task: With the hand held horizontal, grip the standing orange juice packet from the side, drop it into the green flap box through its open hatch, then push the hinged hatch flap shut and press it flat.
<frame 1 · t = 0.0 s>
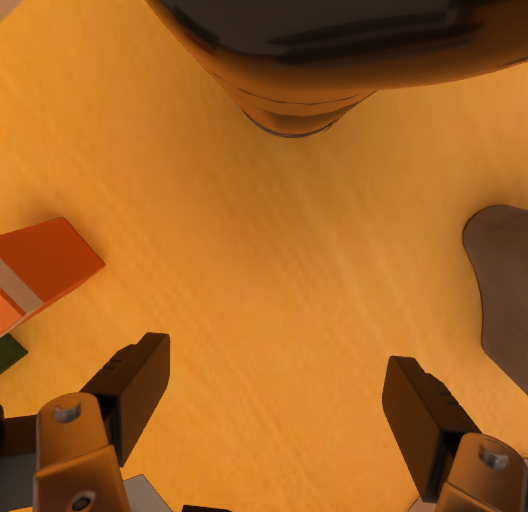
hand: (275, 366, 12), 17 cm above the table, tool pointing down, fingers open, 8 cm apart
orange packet: (68, 254, 30), on the table
flask: (504, 285, 28), on the table
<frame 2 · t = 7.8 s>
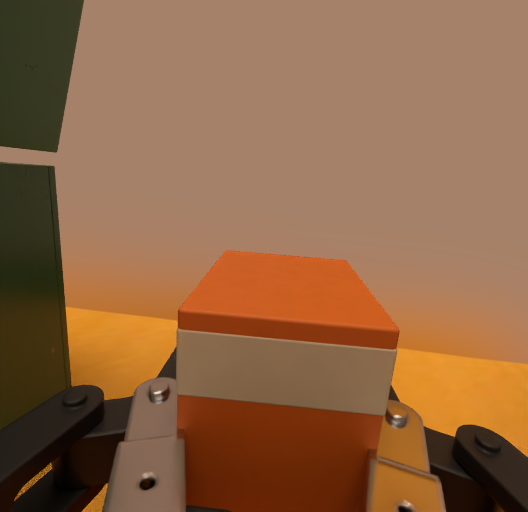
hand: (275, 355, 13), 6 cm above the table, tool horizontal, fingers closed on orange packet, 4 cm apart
when the fingers open (24 cm above the table, at t = 30.5 s): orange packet drops 18 cm, resting on green flap box.
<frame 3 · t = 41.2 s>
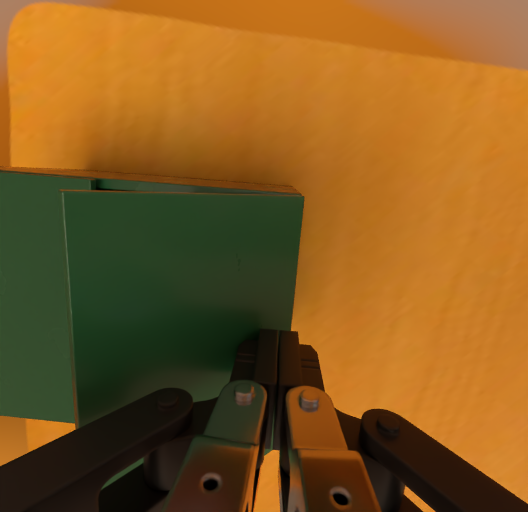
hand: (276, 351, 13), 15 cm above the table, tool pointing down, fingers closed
green flap box: (185, 250, 27), on the table
chute flap: (207, 362, 11), point 16 cm above the table, hinge at 45.8°, touching gripper
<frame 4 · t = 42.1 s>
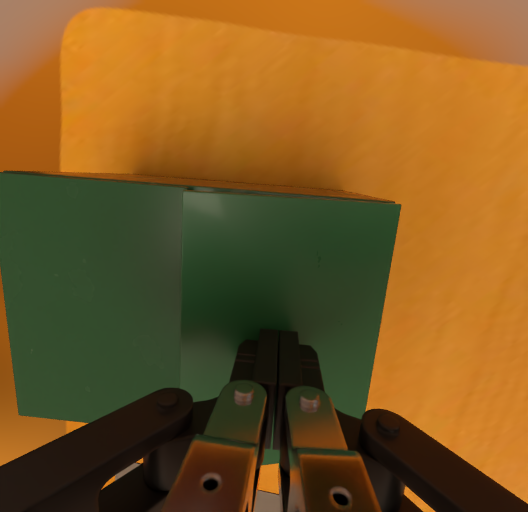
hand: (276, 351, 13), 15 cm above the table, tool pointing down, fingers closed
green flap box: (232, 254, 27), on the table
chute flap: (284, 342, 13), point 14 cm above the table, hinge at 15.4°, touching gripper
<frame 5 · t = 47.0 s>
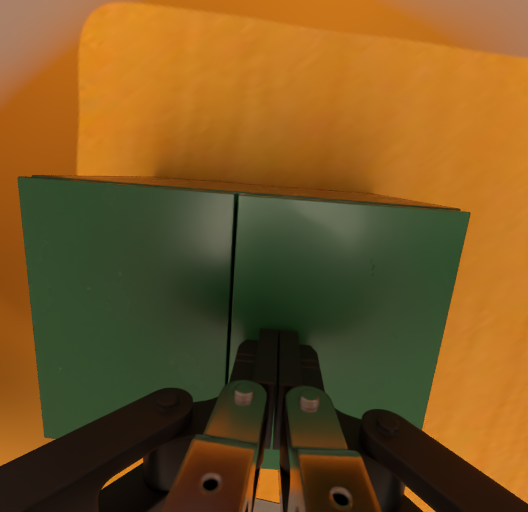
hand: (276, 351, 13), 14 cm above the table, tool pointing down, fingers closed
green flap box: (256, 260, 26), on the table
chute flap: (333, 350, 13), point 13 cm above the table, hinge at 2.7°, touching gripper
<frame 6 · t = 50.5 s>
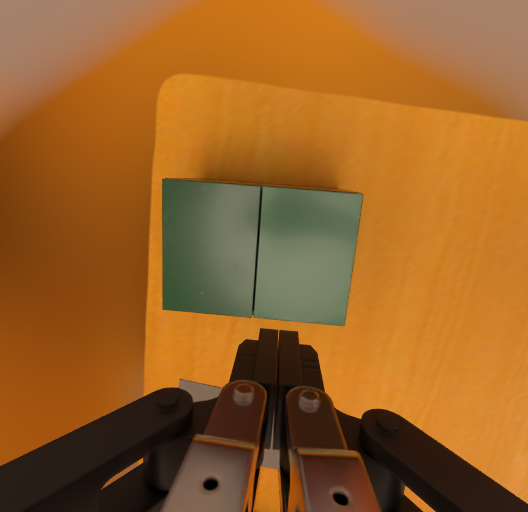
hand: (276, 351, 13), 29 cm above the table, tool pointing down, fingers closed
green flap box: (265, 231, 41), on the table
platform: (234, 425, 48), on the table
chute flap: (305, 258, 28), point 13 cm above the table, hinge at -0.7°
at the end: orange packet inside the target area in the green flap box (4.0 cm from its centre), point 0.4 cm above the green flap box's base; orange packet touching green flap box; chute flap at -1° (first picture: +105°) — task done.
